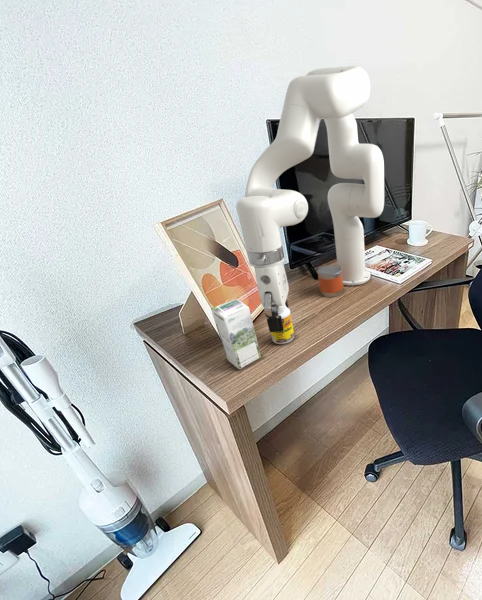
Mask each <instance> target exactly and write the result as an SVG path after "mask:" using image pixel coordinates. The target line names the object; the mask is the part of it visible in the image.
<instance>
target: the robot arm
mask: <svg viewBox="0 0 482 600" xmlns="http://www.w3.org/2000/svg"><path fill="white" fill-rule="evenodd" d="M370 95H371V81H370V76H369V74H368V72H367V71H366V70H365V69H364V68H363V67H362V66H358V65H349V66H338V67H337V66H336V67H321V68H316V69H313V70H311V71H309V72H308V73H306V74H305V75H301V76H296V77H294V78H293V79H291V81H290V82H289V84H288V86H287V89H286V93H285V97H284V102H283V106H282V110H281V114H280V119H279V123H278V127H277V133H276V136H275V139H274V140H273V142H271V144H269V146H267V148H265V150H264V151H263V152H262V153H261V155H260V156H259V157H258V158H257V159H256V161H255V162H254V164H253V166H252V167H251V169H250V172H249V174H248V179H247V183H246V187H245V193H244V197H242V198H240V199H238V200H237V202H236V205H235V208H236V212H237V217H238V221H239V225H240V230H241V233H242V234H241V235H242V238H243V243H244V246H245V250H246V254H247V255H246V256H247V259H248V263H249V265H250V266H251V267H254V274H255V280H256V286H257V291H258V295H259V300H260V304H261V306H262V307H263V310H264V313H265V319H266V323H267V327H268V331H269V332H270V333H271V332H280V331H283V330H284V327H283V323H282V318H281V316H279V306H284V304H285V305H286V307H287V308H289V302H288V296H289V292H290V286H289V282H288V277H287V272H286V269H285V264H284V262H285V254H284V248H283V242H282V237H281V230H280V229H281V228H285V227H289V226H295V225H297V224H299V223H302V222H303V221H304V220H305V218H306V217H307V215H308V213H309V203H308V201H307V199H306V197H305V196H304V195H303V194H302V193H301V192H298V191H296V190H293V189H281V188H274V186H275V183H276V181H277V180H278V178H280V176H281V175H282V174H283V173H284V172H286V171H287V170H289V169H290V168H292V167H294V166H296V165H298V164H300V163H302V162H304V161H306V160H308V159H309V158H310V157H312V155H313V154H314V151H315V146H316V143H317V137H318V132H319V128H320V124H321V121H322V120H323V121H324V123H325V128H326V133H327V146H328V155H329V165H330V166H329V167H330V171H331V174H333V176H334V177H337V178H338V179H345V180H363V183H356V182H355V183H354V182H353V183H352V182H350V183H349V182H339V183H336V184H334V185H332V186H331V187H330V188H329V190H328V192H327V204H328V209H329V211H330V214H331V218H332V225H333V233H334V243H335V244H334V245H335V254H336V264H337V265H336V266H339V267H340V268H341V269H342V278H343V286H349V287H351V286H359V285H364V284H366V283H367V282H368V281H370V279H371V272H370V271H369V270H367V269H366V250H365V231H364V230H365V229H364V225H363V223H362V221H361V220H360V218H369V219H371V218H372V219H375V218H378V217H380V216H381V215H382V213H383V211H384V207H385V160H384V155H383V152H382V150H381V149H380V147H379V146H378V145H375V144H374V143H360V142H359V135H358V124H357V120H356V118H355V116H354V114H353V113H355V112H356V111H358V110H360V109H362V108H363V107H365V105H366V104H367V103H368V101H369V99H370ZM272 302H275V303H276V304H272ZM274 307H276V312H275V311H272V308H274Z"/></svg>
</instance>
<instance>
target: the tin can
mask: <svg viewBox="0 0 482 600" xmlns="http://www.w3.org/2000/svg"><path fill="white" fill-rule="evenodd" d="M317 278H318V286H319V293H320V295H321V296H323V297H325V298H334V297H338V296H340V295H342V294H343V293H344V285H343V278H342V269H341V268H340V267H339V266H338V265H335V264H327V265H324V266H321V267H319V268H318V269H317Z"/></svg>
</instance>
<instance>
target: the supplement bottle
mask: <svg viewBox="0 0 482 600" xmlns="http://www.w3.org/2000/svg"><path fill="white" fill-rule="evenodd" d="M272 304H276V303H275V302H272ZM272 311H275V312H276V307H274V308H272ZM279 316H281V318H282V323H283V327H284V330H283V331H280V332H270V336H271V340H272V342H273V343H274V344H277V345H285V344H288V343H291V342H292V341H293V339H294V338H295V330H294V324H293V321H292V320H293V319H292V314H291V309H290V308H289V307H288V308H287V307H286V305H285V304H284V306H279Z"/></svg>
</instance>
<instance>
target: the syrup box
mask: <svg viewBox="0 0 482 600" xmlns="http://www.w3.org/2000/svg"><path fill="white" fill-rule="evenodd" d="M210 311H211V314H212V318H213V320H214V323H215V326H216V329H217V332H218V333H217V334H218V336H219V339H220V341H221V345H222V348H223V351H224V352H223V353H224V354H225V358H226V360H227V361H228V362H229V363H230V364H231V365H233V366H234V367H235V368H236V369H238V370H239V371H240V370H242V369H244V368H246V367H247V366H249V365H251V364H253V363H254V362H256V361H258V360H260V359H261V358H262V355H261V351H260V347H259V344H258V343H259V342H258V337H257V335H256V330H255V326H254V322H253V319H252V318H253V317H252V314H251V310H250V307H249V306H248V305H246V304H245V303H244V302H243V301H241V300H239V299H237V298H233V299H231V300H229V301H226V302H224V303H221V304H219V305H216V306H214V307H212V308H210Z"/></svg>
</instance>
